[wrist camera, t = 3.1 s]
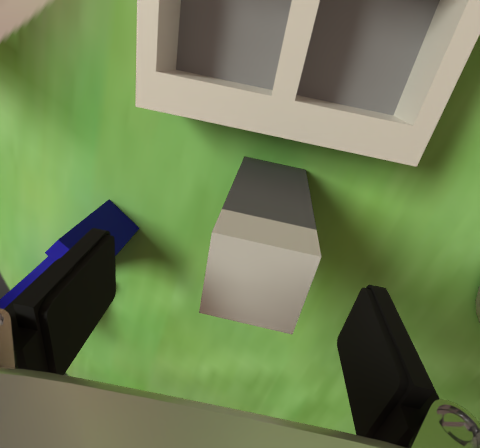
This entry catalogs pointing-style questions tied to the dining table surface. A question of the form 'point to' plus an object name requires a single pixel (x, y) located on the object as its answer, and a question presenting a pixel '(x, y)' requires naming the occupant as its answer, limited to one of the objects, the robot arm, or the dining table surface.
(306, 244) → the plug
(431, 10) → the socket strip
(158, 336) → the dining table surface
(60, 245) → the blue notched block
